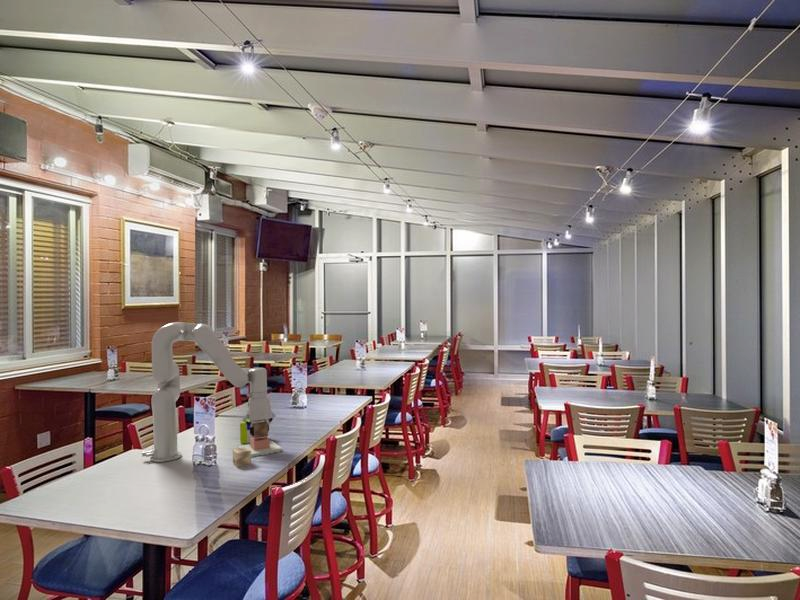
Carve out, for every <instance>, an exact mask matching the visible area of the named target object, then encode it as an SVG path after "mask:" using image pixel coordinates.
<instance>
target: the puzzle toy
mask: <svg viewBox="0 0 800 600" xmlns="http://www.w3.org/2000/svg"><path fill="white" fill-rule="evenodd" d="M247 421H248V422H250V420H249V419H248V418H247ZM260 421H263V420H260ZM264 421H265V420H264ZM254 422H256V421H254ZM239 432H240V433H239V434H240V435H239V436H240V442H239V443H250V438H254V437H253V436H252V435H251V434H250V426H248V425H247V424H246V423H245V422H243V421H242V420H241V422H240V423H239ZM266 437H267V438H268V436H266Z"/></svg>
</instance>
